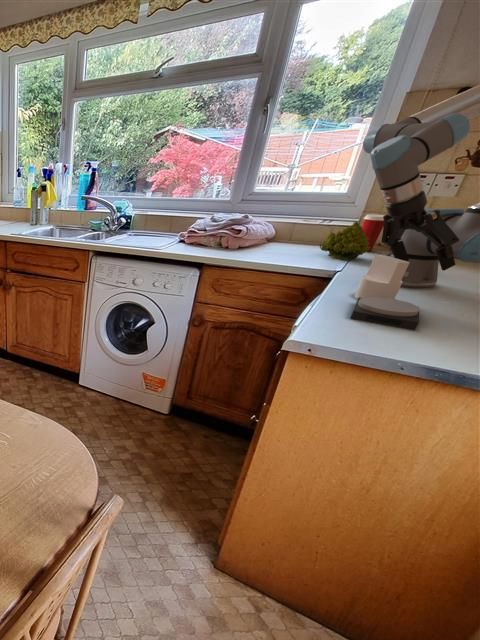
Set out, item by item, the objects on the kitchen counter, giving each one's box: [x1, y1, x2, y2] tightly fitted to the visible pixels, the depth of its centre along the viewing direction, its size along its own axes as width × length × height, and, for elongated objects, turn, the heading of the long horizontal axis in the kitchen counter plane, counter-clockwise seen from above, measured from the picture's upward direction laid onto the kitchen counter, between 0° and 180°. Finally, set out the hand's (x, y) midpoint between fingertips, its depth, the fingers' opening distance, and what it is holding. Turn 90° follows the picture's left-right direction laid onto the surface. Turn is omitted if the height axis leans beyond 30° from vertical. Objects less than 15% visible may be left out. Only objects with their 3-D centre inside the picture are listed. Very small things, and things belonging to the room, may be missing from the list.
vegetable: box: [319, 221, 371, 261], centre depth 172 cm, size 15×16×15 cm
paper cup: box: [361, 213, 386, 253], centre depth 181 cm, size 8×8×14 cm
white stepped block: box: [354, 254, 410, 300], centre depth 127 cm, size 9×9×12 cm
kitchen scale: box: [349, 297, 421, 331], centre depth 117 cm, size 15×13×3 cm
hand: (424, 265), depth 121 cm, fingers open, 13 cm apart
